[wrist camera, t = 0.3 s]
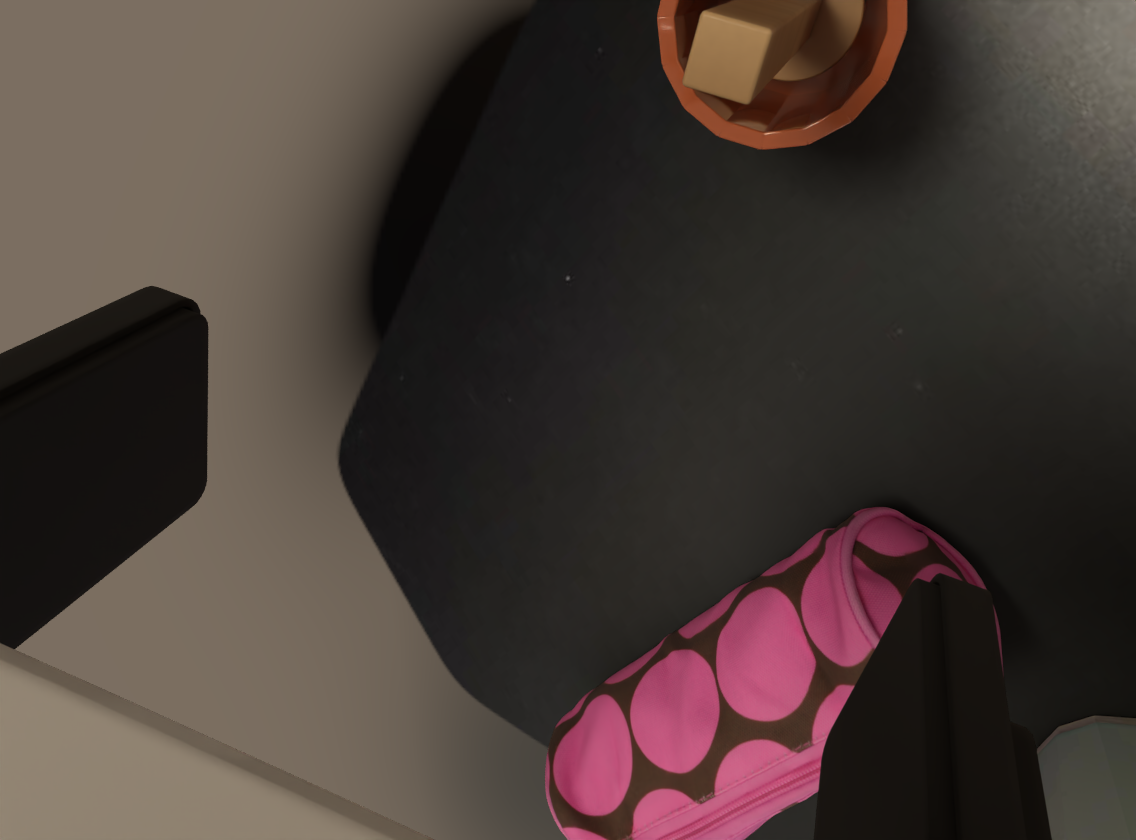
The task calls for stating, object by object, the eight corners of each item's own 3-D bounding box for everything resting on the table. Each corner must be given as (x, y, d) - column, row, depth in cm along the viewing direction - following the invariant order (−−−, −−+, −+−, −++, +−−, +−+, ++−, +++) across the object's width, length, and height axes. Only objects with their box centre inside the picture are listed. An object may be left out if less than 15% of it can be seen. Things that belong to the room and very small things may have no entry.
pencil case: (701, 796, 50) (661, 969, 42) (566, 686, 49) (498, 839, 41) (1026, 591, 39) (1063, 773, 30) (855, 445, 38) (844, 588, 30)
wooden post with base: (762, -77, 30) (650, -94, 16) (886, -44, 30) (878, -34, 16) (724, 54, 32) (595, 136, 19) (838, 87, 32) (794, 198, 18)
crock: (741, -126, 30) (697, -146, 23) (938, -76, 29) (951, -82, 22) (685, 77, 34) (632, 111, 27) (859, 129, 33) (850, 177, 26)
